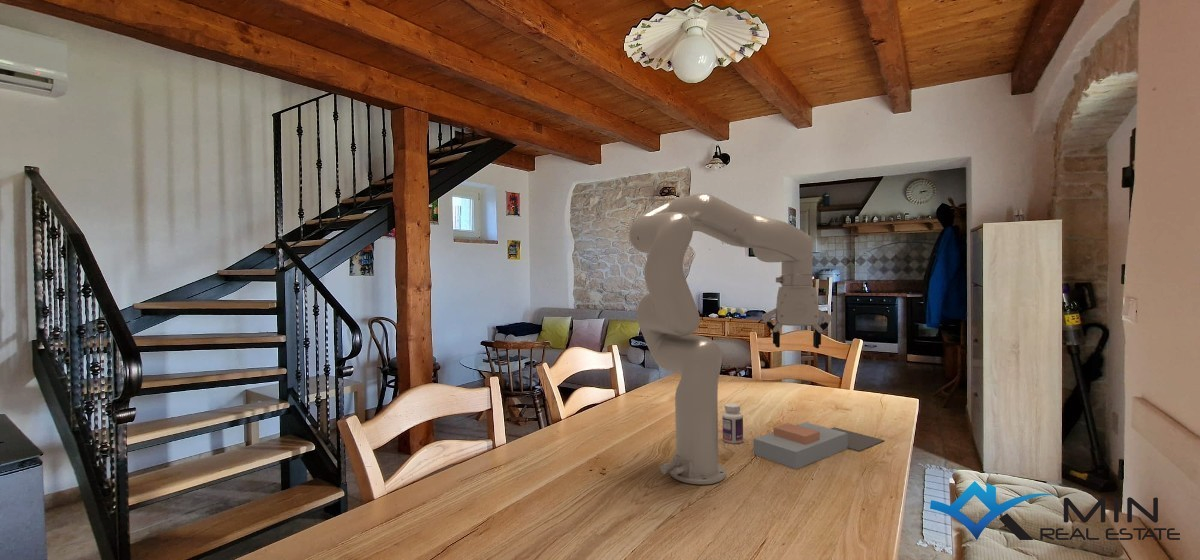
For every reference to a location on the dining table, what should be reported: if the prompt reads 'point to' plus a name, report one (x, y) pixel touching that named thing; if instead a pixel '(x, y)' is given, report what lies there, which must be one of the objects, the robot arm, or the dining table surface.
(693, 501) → the dining table surface
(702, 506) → the dining table surface
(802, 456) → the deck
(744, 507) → the dining table surface
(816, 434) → the tile
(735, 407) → the pill bottle
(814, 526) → the dining table surface
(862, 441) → the mat
